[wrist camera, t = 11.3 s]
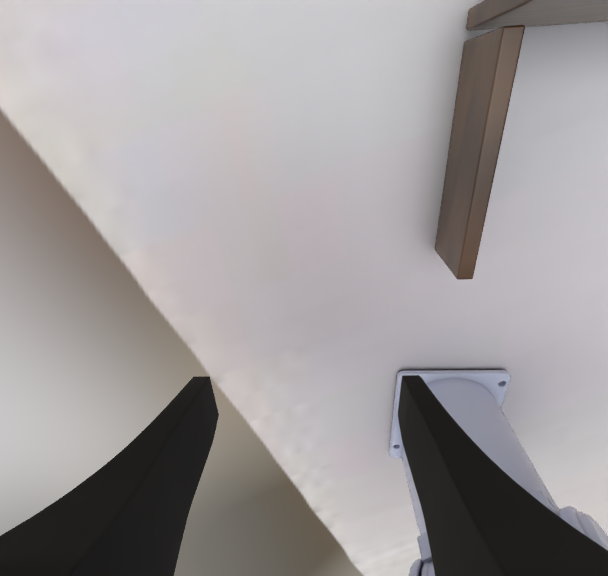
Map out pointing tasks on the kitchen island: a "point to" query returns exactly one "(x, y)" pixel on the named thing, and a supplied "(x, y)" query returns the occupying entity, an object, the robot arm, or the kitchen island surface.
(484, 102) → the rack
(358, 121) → the kitchen island surface
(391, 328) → the kitchen island surface
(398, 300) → the kitchen island surface
